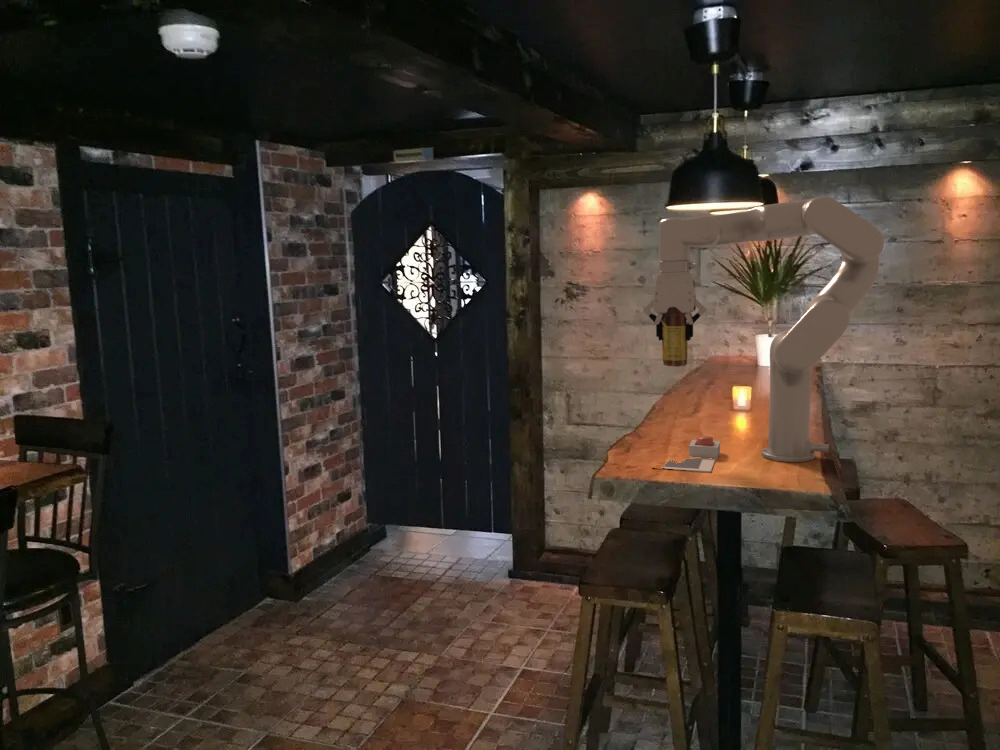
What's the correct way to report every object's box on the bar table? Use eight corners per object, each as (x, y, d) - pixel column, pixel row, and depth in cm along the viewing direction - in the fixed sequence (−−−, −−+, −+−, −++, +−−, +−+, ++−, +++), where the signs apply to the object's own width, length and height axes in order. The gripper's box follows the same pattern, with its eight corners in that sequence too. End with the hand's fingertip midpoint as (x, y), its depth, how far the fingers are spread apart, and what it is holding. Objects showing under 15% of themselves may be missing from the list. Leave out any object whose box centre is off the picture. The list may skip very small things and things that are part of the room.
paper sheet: (715, 460, 205) (715, 458, 205) (710, 472, 194) (710, 470, 193) (658, 456, 209) (658, 455, 209) (650, 468, 198) (650, 467, 198)
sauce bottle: (670, 363, 214) (670, 286, 211) (692, 364, 210) (692, 286, 207) (657, 366, 209) (657, 287, 207) (679, 367, 205) (679, 287, 202)
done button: (713, 447, 211) (713, 436, 210) (712, 451, 207) (712, 439, 207) (697, 447, 212) (697, 435, 212) (695, 450, 208) (695, 438, 208)
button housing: (719, 452, 212) (720, 441, 212) (717, 459, 205) (717, 447, 205) (692, 451, 214) (692, 439, 214) (688, 457, 208) (689, 445, 207)
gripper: (711, 267, 207) (711, 338, 209) (642, 268, 213) (643, 338, 215) (708, 267, 200) (707, 341, 202) (636, 269, 206) (637, 341, 209)
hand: (674, 339), depth 209 cm, fingers closed on sauce bottle, 6 cm apart
